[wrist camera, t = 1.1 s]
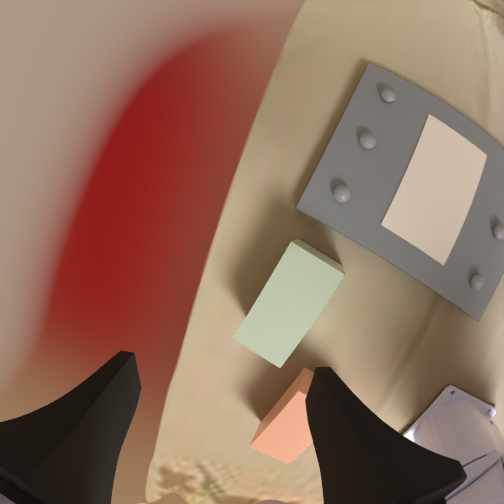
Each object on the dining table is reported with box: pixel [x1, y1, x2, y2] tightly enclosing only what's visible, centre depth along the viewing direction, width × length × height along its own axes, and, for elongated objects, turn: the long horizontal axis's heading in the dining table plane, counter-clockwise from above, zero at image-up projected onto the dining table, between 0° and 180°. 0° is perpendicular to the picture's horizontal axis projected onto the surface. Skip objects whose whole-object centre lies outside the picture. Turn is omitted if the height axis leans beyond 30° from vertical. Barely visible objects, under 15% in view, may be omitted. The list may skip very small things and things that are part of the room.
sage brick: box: [233, 239, 345, 368], centre depth 20 cm, size 4×8×4 cm, turn 151°
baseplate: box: [295, 62, 504, 321], centre depth 17 cm, size 18×14×2 cm
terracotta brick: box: [250, 367, 314, 464], centre depth 21 cm, size 4×8×4 cm, turn 153°
